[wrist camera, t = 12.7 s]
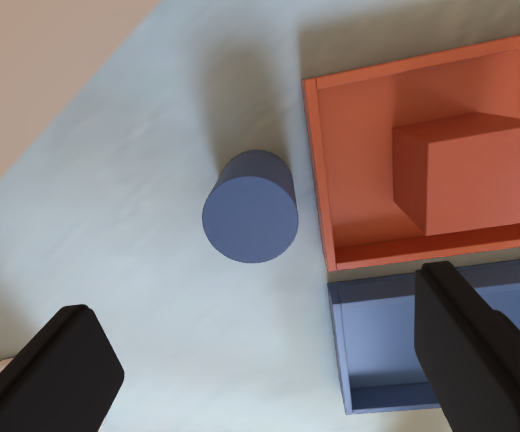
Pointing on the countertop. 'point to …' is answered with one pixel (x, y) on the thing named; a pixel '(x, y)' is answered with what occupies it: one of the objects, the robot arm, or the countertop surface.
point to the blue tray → (399, 335)
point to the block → (458, 172)
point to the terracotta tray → (381, 147)
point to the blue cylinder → (252, 208)
